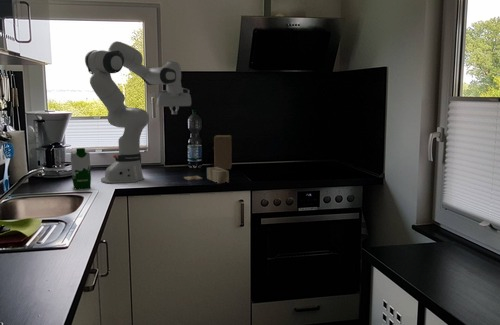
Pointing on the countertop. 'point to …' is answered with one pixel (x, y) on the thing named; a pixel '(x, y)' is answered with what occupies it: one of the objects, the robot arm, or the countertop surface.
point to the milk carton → (81, 169)
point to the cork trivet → (193, 178)
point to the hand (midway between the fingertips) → (174, 114)
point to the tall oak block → (217, 175)
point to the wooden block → (223, 151)
